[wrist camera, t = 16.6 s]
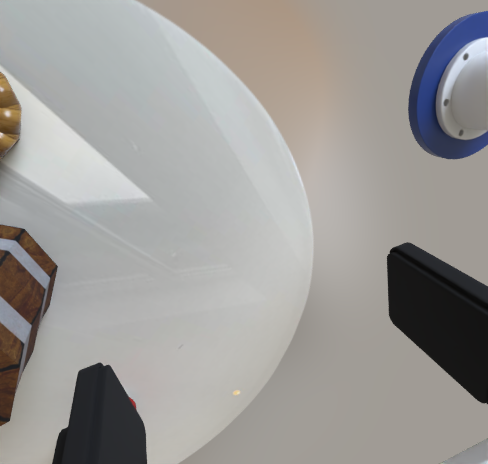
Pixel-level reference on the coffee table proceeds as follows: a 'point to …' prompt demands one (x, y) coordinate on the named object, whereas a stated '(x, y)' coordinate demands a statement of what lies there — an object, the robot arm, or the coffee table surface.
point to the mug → (20, 306)
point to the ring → (8, 116)
